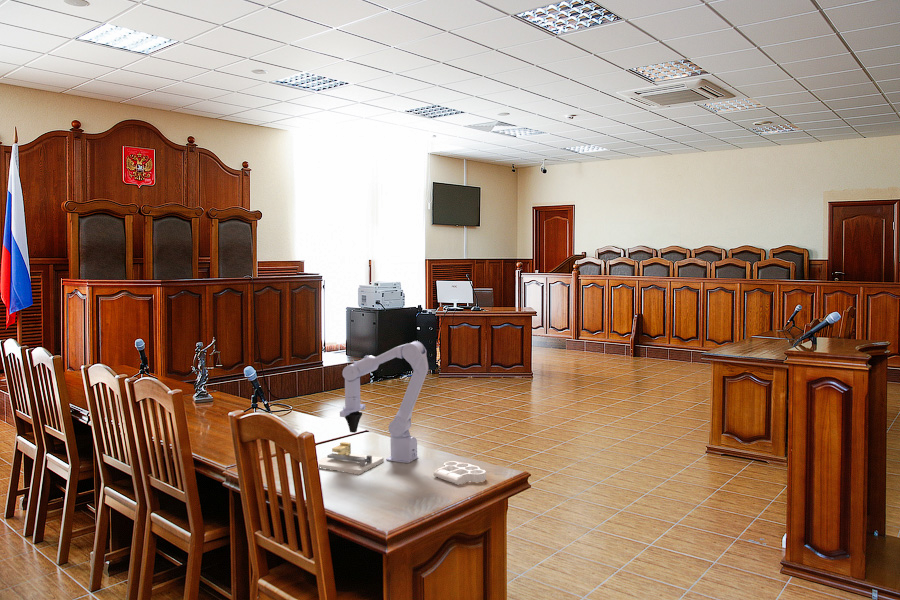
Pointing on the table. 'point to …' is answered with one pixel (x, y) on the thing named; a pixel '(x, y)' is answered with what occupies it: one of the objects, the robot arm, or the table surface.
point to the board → (350, 464)
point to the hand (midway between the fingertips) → (353, 432)
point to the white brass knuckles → (460, 472)
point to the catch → (343, 448)
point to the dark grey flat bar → (347, 457)
